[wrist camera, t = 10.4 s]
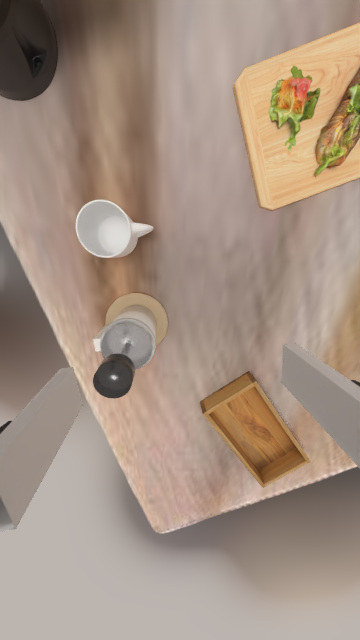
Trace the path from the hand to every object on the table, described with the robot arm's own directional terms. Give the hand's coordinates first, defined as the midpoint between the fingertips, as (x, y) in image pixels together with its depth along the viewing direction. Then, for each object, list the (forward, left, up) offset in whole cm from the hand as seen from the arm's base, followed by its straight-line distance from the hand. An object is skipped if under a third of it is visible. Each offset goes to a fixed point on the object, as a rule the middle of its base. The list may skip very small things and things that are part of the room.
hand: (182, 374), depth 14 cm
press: (+7, -8, -36) cm, 38 cm away
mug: (-12, -7, -37) cm, 39 cm away
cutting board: (-28, +35, -37) cm, 59 cm away
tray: (+40, +18, -37) cm, 58 cm away
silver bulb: (+7, -8, -23) cm, 25 cm away
